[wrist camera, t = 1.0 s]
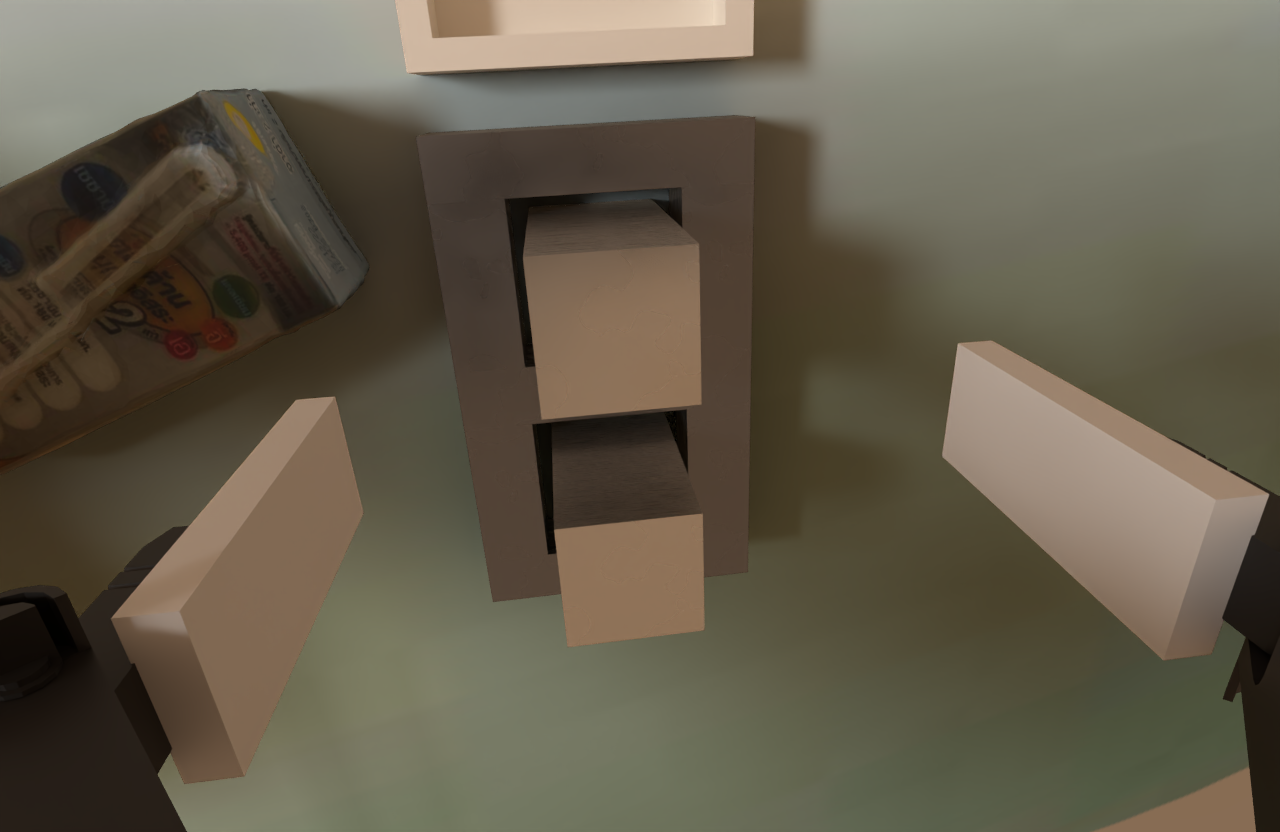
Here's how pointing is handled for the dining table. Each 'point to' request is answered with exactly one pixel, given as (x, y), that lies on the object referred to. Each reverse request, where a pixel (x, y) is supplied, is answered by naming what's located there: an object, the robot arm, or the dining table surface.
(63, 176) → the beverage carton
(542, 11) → the tray
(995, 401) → the robot arm
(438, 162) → the rack
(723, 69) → the dining table surface
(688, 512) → the beige rectangular block
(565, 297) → the tan rectangular block
